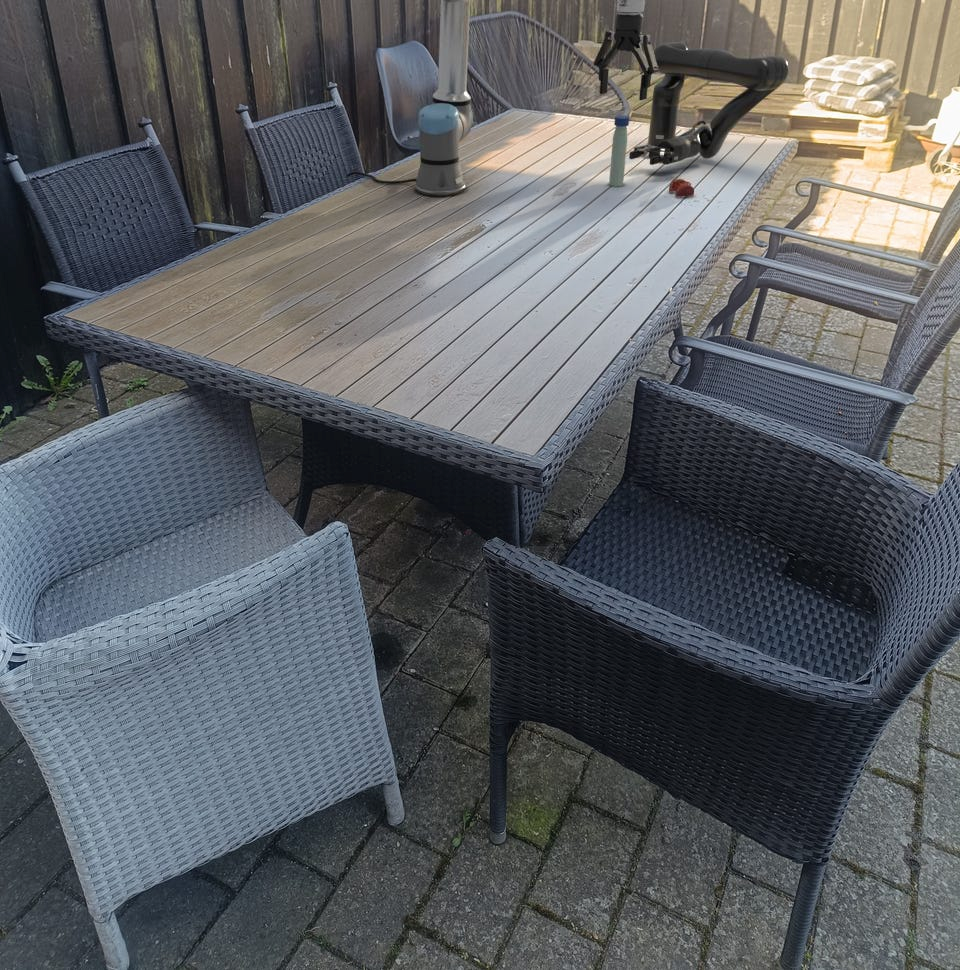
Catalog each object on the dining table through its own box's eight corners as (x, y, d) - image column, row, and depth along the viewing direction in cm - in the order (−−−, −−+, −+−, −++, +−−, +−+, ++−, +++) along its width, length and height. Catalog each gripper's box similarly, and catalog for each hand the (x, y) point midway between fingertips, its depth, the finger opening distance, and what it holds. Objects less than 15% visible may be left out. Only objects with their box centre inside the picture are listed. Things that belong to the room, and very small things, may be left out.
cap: (612, 126, 252) (613, 117, 251) (615, 122, 255) (616, 114, 254) (627, 127, 251) (627, 119, 249) (629, 124, 254) (630, 115, 253)
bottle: (607, 185, 262) (613, 119, 251) (610, 181, 265) (616, 116, 254) (621, 187, 261) (627, 120, 250) (624, 183, 264) (630, 117, 253)
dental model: (685, 174, 256) (697, 182, 250) (683, 188, 258) (695, 196, 252) (668, 176, 255) (679, 184, 249) (666, 190, 257) (678, 199, 251)
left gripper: (584, 11, 236) (580, 92, 249) (662, 18, 223) (652, 104, 235) (600, 8, 241) (594, 89, 253) (676, 15, 228) (666, 99, 240)
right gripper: (658, 133, 275) (624, 141, 267) (693, 142, 267) (659, 150, 258) (655, 157, 280) (622, 166, 271) (689, 166, 271) (656, 175, 263)
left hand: (622, 96), depth 244 cm, fingers open, 13 cm apart
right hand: (640, 158), depth 265 cm, fingers open, 8 cm apart
